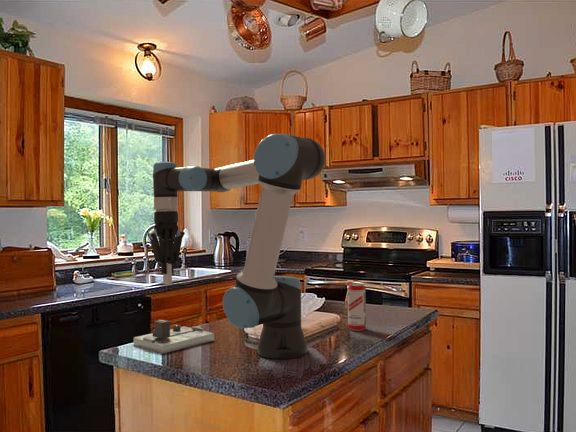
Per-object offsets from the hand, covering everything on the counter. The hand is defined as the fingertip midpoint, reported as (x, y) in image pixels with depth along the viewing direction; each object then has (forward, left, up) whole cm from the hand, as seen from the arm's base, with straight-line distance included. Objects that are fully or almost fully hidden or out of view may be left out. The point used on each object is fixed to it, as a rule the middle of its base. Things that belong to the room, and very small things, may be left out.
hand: (167, 283), depth 169 cm
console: (0, -2, -20) cm, 20 cm away
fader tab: (0, +2, -17) cm, 17 cm away
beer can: (-36, -54, -20) cm, 68 cm away
